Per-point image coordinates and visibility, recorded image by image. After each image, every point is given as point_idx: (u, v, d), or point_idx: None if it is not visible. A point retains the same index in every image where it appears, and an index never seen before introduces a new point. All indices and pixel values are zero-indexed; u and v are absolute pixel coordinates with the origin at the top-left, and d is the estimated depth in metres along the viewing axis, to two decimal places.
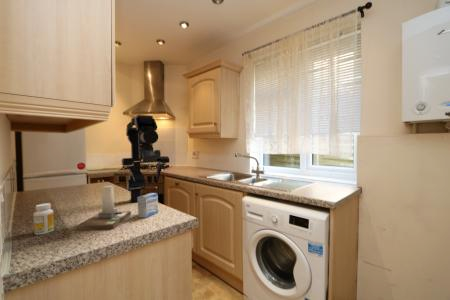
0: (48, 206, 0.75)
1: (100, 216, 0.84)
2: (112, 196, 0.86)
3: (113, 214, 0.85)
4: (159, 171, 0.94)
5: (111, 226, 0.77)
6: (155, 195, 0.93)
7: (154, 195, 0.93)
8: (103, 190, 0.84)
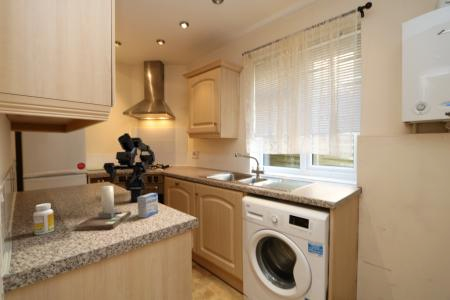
0: (48, 206, 0.75)
1: (100, 216, 0.84)
2: (112, 196, 0.86)
3: (113, 214, 0.85)
4: (132, 174, 0.99)
5: (111, 226, 0.77)
6: (155, 195, 0.93)
7: (154, 195, 0.93)
8: (103, 190, 0.84)
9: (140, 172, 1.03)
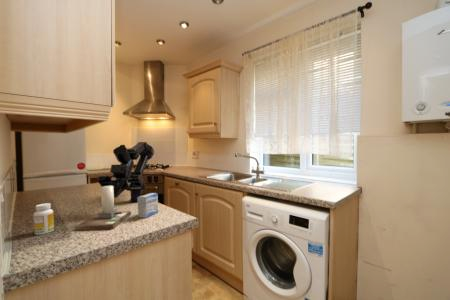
0: (48, 206, 0.75)
1: (100, 216, 0.84)
2: (112, 196, 0.86)
3: (113, 214, 0.85)
4: (118, 188, 0.94)
5: (111, 226, 0.77)
6: (155, 195, 0.93)
7: (154, 195, 0.93)
8: (103, 190, 0.84)
9: (127, 186, 0.98)
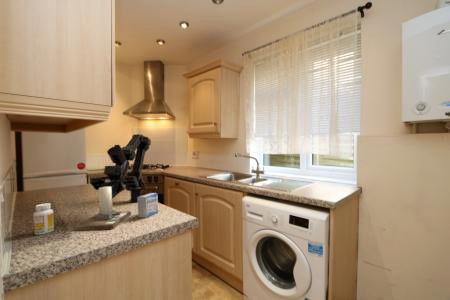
0: (48, 206, 0.75)
1: (98, 217, 0.82)
2: (110, 197, 0.84)
3: (111, 215, 0.84)
4: (112, 191, 0.89)
5: (111, 226, 0.77)
6: (155, 195, 0.93)
7: (154, 195, 0.93)
8: (101, 191, 0.82)
9: (122, 188, 0.93)
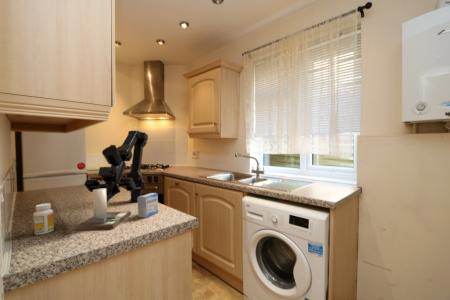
0: (48, 206, 0.75)
1: (92, 221, 0.78)
2: (105, 200, 0.80)
3: (106, 219, 0.80)
4: (107, 193, 0.85)
5: (111, 226, 0.77)
6: (155, 195, 0.93)
7: (154, 195, 0.93)
8: (95, 193, 0.78)
9: (117, 190, 0.89)
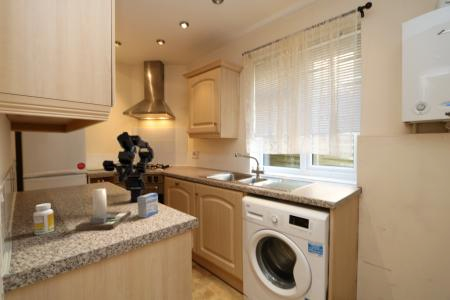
0: (48, 206, 0.75)
1: (91, 221, 0.78)
2: (104, 200, 0.80)
3: (105, 219, 0.80)
4: (124, 174, 0.99)
5: (111, 226, 0.77)
6: (155, 195, 0.93)
7: (154, 195, 0.93)
8: (95, 193, 0.78)
9: (131, 172, 1.03)
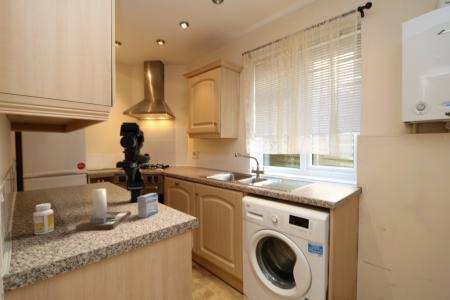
0: (48, 206, 0.75)
1: (91, 221, 0.78)
2: (104, 200, 0.80)
3: (105, 219, 0.80)
4: (134, 173, 1.03)
5: (111, 226, 0.77)
6: (155, 195, 0.93)
7: (154, 195, 0.93)
8: (95, 193, 0.78)
9: None
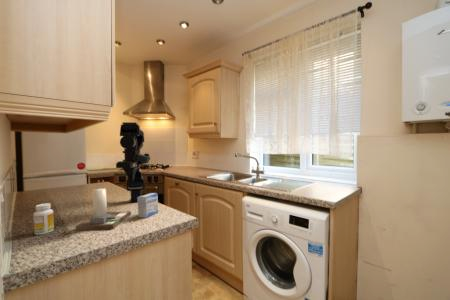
0: (48, 206, 0.75)
1: (91, 221, 0.78)
2: (104, 200, 0.80)
3: (105, 219, 0.80)
4: (134, 173, 1.03)
5: (111, 226, 0.77)
6: (155, 195, 0.93)
7: (154, 195, 0.93)
8: (95, 193, 0.78)
9: None
